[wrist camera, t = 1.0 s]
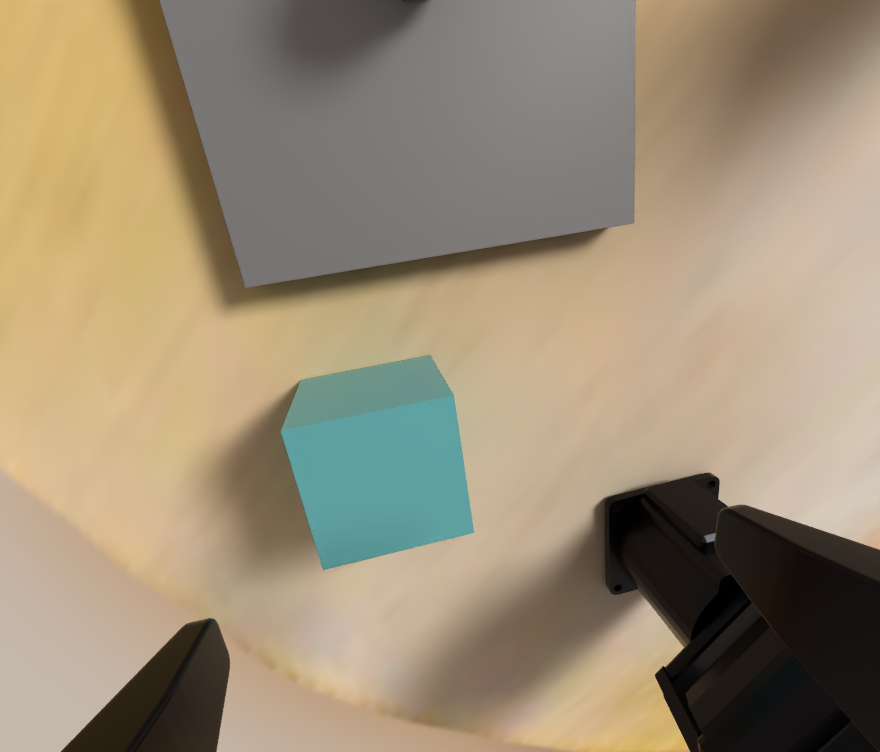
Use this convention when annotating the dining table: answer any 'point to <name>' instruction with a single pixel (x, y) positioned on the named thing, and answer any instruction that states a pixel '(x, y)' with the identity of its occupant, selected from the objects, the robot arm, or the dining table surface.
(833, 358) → the dining table surface
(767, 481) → the dining table surface
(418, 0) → the silver cabinet knob
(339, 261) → the base plate
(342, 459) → the turquoise cube
